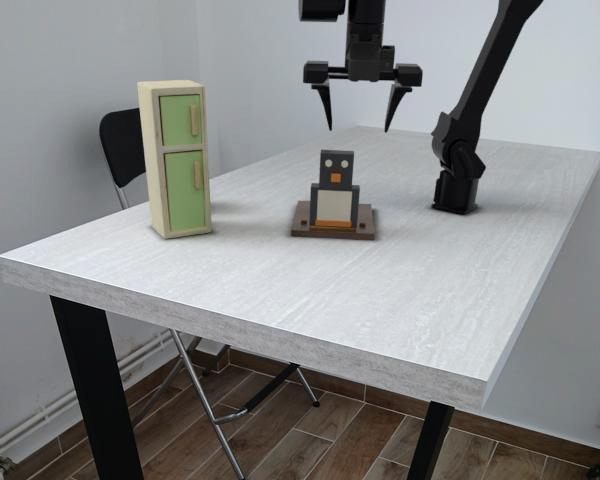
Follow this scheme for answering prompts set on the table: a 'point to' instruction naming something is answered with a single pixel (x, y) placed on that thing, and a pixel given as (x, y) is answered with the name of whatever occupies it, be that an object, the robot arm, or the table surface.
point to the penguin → (335, 191)
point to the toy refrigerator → (176, 156)
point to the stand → (361, 232)
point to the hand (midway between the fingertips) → (358, 131)
